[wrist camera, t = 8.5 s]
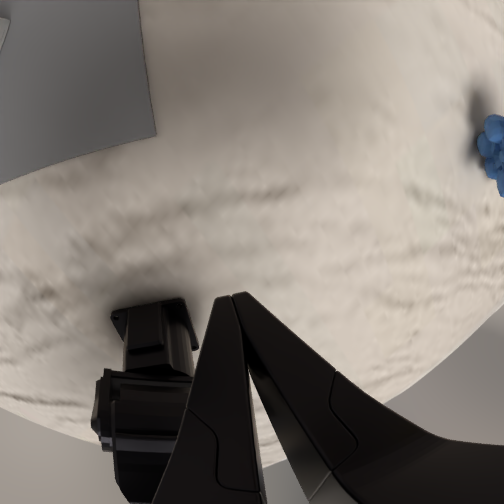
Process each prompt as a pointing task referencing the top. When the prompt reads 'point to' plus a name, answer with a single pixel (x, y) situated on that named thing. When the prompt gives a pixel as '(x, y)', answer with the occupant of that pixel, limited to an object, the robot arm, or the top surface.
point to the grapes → (493, 149)
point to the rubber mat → (70, 81)
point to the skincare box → (3, 29)
